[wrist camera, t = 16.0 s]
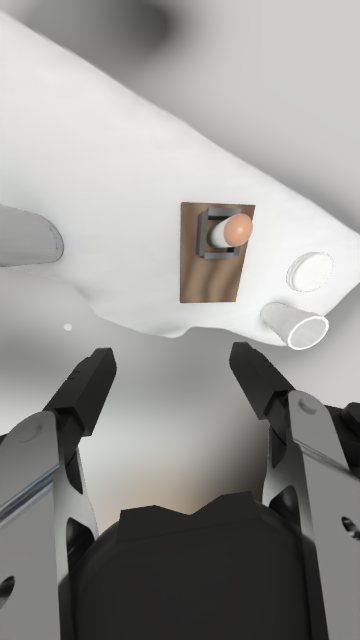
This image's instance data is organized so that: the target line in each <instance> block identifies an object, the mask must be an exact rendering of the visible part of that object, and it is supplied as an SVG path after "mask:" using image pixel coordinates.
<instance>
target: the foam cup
mask: <svg viewBox="0 0 360 640" xmlns="http://www.w3.org/2000/svg"><path fill="white" fill-rule="evenodd" d="M260 315H261V318H262V319H263V320H264V321H265V322H266V323H267V324H268V325H269V326H270V327H271V329H272V330H273V331H274V332H275V333H276V334H277V335H278V336H279V337H280V338H281V339H282V341H283V342H285V343H286V344H287V345H288V346H290V347H291V348H293V349H297V350H302V349H305V348H308V347H311V346H313V345H314V344H316V343H317V342H319V341H320V340H321V338H323V337H324V335H325V334H326V332H327V330H328V328H329V326H328V320H327V319H326V318H324V317H323V316H321V315H318V314H316V313H314V312H307V311H304V310H300V309H297V308H293V307H290V306H286V305H283V304H279V303H274V302H272V303H269V304H267V305H266V306H264V307H263V309H262V310H261V314H260Z"/></svg>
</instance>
